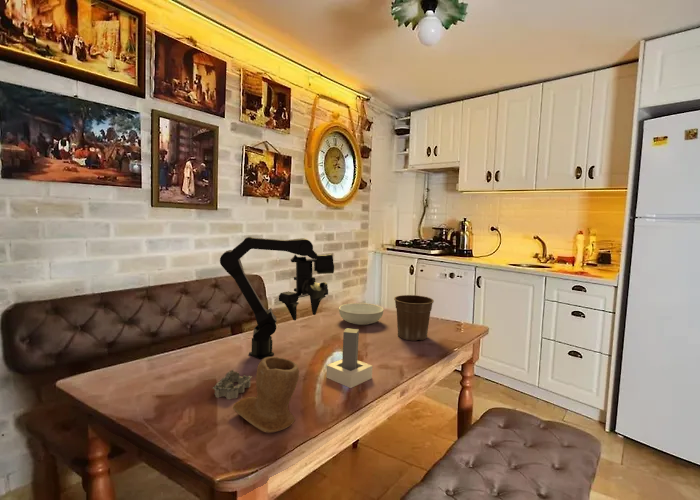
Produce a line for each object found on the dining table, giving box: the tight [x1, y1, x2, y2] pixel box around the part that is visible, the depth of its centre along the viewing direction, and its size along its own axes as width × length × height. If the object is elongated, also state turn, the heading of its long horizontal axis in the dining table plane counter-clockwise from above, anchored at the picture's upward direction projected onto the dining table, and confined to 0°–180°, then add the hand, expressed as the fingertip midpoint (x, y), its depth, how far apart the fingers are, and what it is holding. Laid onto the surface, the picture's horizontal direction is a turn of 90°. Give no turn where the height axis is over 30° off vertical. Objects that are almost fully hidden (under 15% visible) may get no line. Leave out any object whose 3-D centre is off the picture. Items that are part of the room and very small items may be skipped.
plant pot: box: [393, 294, 435, 342], centre depth 163 cm, size 16×16×16 cm
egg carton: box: [212, 368, 252, 400], centre depth 109 cm, size 11×8×4 cm
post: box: [342, 327, 360, 371], centre depth 120 cm, size 4×4×15 cm
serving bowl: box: [338, 302, 384, 326], centre depth 182 cm, size 21×21×7 cm
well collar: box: [325, 359, 373, 389], centre depth 120 cm, size 10×10×4 cm
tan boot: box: [232, 356, 300, 433], centre depth 94 cm, size 15×12×15 cm
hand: (304, 317), depth 139 cm, fingers open, 9 cm apart
